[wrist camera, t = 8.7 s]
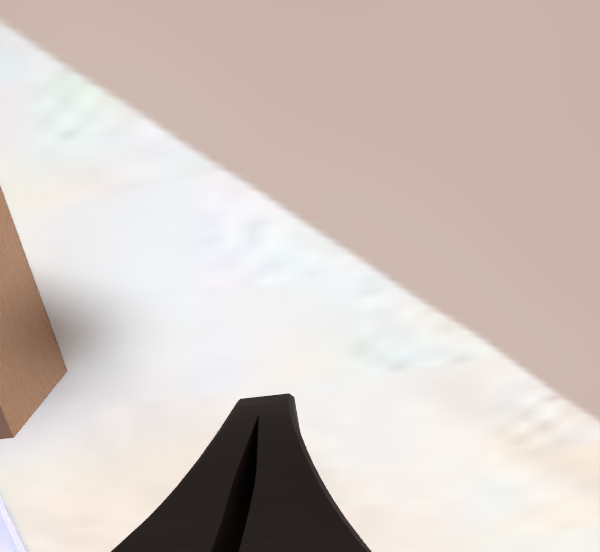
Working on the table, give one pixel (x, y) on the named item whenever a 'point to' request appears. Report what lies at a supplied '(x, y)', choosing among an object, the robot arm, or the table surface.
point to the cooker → (22, 335)
